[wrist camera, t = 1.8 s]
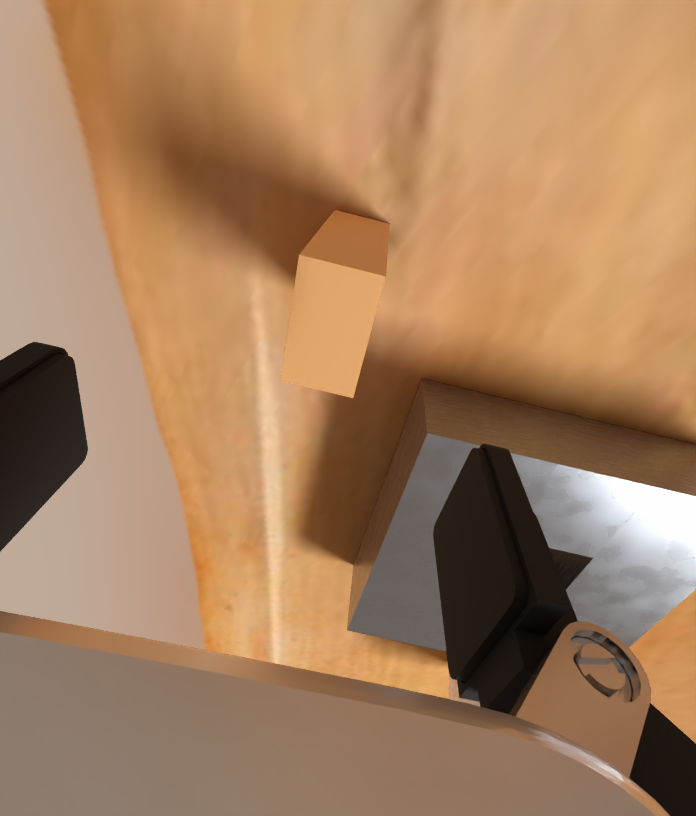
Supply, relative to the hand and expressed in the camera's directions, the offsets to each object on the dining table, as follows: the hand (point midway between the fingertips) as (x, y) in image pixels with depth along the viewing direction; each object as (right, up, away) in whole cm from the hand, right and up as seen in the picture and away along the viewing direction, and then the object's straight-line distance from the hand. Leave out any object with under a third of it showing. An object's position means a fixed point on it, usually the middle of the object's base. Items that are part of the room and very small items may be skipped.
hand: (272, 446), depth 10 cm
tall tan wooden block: (+2, +9, +14) cm, 17 cm away
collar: (+14, -8, +23) cm, 28 cm away
